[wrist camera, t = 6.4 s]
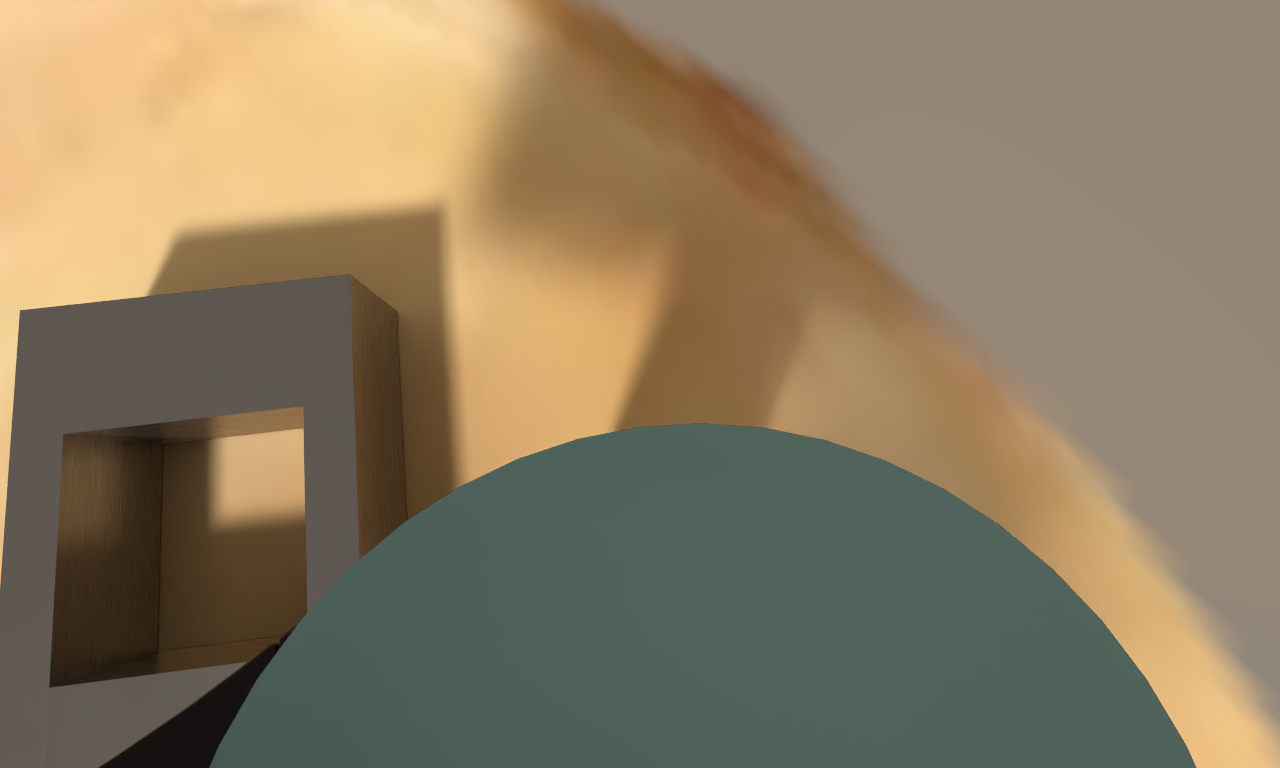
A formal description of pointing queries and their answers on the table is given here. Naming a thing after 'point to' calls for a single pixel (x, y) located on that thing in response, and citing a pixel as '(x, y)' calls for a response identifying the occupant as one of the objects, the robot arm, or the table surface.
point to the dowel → (701, 626)
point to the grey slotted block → (132, 482)
